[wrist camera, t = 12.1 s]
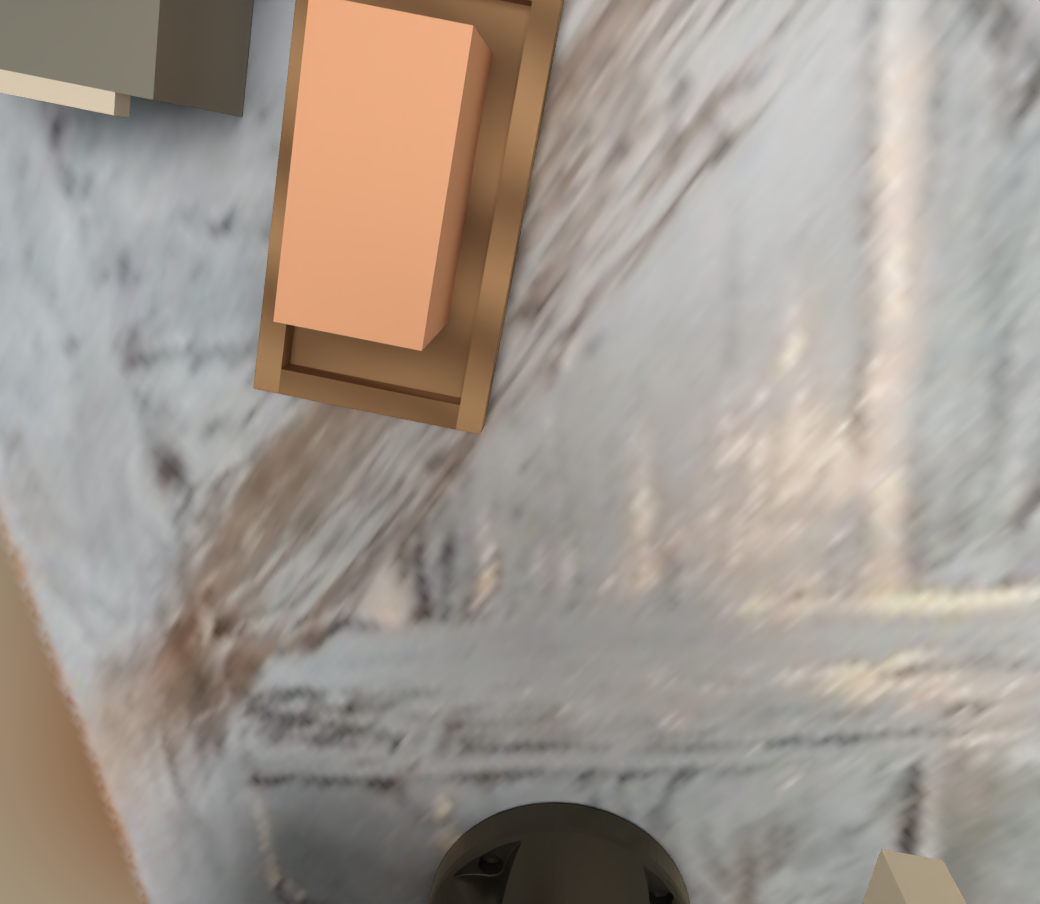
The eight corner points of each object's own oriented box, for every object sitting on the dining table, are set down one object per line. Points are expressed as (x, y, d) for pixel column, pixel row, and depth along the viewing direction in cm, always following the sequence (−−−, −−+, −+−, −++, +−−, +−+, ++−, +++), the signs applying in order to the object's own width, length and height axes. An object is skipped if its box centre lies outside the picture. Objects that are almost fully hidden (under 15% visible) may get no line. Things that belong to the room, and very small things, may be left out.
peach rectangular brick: (447, 322, 44) (421, 350, 36) (323, 298, 44) (273, 321, 36) (492, 53, 40) (473, 25, 33) (357, 26, 40) (309, -7, 33)
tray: (484, 423, 45) (480, 434, 44) (267, 379, 46) (253, 388, 44) (567, -16, 40) (566, -25, 38) (317, -65, 40) (304, -78, 38)
